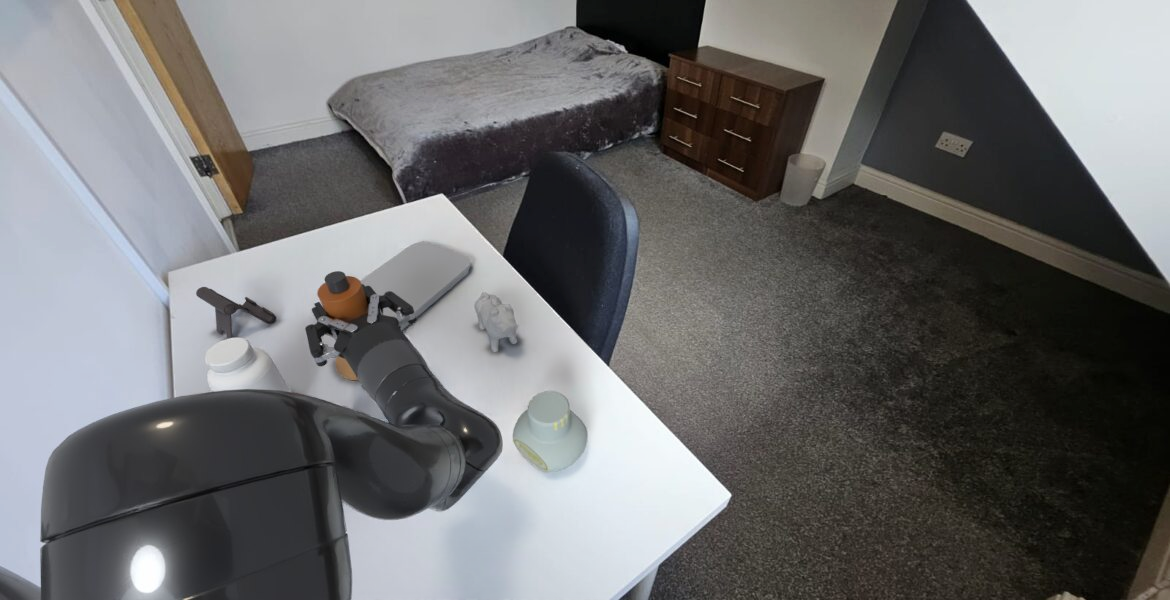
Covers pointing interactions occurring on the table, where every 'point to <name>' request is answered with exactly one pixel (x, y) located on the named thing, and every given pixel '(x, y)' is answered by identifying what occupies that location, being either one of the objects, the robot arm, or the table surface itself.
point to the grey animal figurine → (496, 319)
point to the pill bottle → (242, 367)
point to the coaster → (345, 369)
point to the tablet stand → (232, 310)
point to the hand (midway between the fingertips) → (340, 298)
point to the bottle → (343, 297)
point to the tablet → (419, 275)
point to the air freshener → (550, 432)
